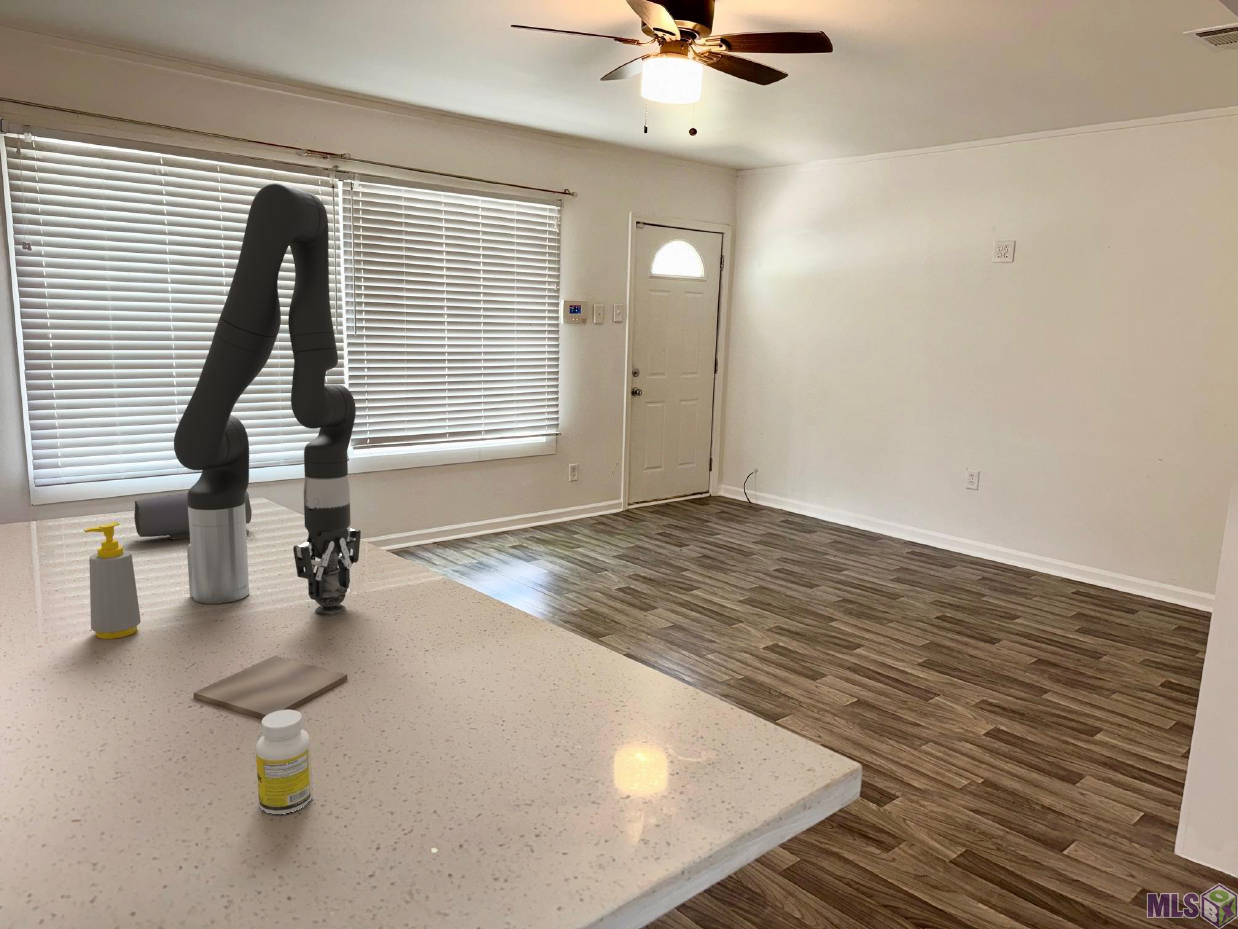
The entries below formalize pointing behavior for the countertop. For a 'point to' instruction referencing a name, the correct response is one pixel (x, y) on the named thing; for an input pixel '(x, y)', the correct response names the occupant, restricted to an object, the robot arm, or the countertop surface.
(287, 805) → the supplement bottle
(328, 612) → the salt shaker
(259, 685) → the walnut pad
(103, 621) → the soap bottle
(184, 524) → the bluetooth speaker
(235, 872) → the countertop surface
